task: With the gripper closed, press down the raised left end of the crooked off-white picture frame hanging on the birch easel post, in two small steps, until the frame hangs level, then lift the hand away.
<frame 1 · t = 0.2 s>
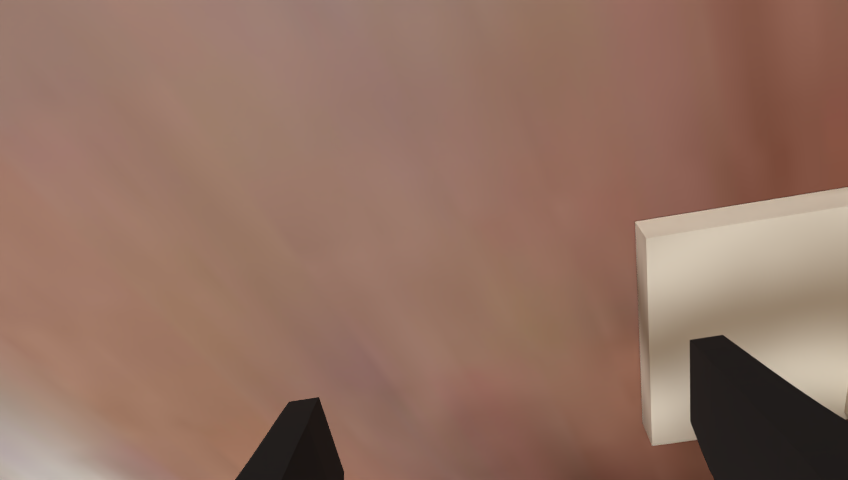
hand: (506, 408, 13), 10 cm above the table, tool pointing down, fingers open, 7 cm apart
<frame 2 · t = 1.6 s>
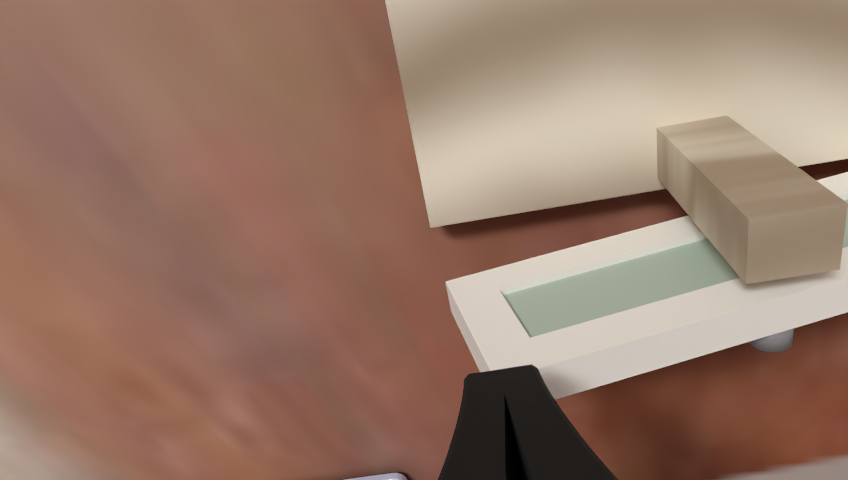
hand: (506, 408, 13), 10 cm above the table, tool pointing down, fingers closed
easel stand: (677, 172, 21), on the table
frame: (726, 278, 17), point 5 cm above the table, hinge at 12.0°
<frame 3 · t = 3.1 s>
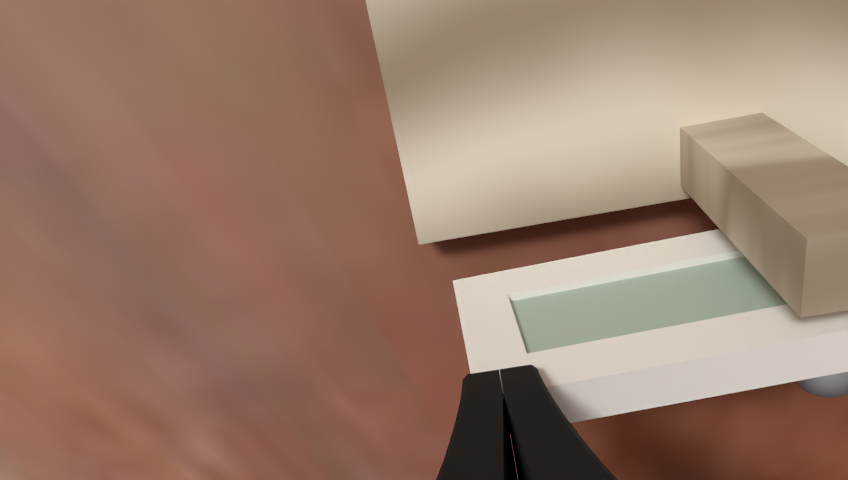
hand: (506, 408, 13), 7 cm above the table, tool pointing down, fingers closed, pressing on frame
easel stand: (702, 179, 19), on the table
frame: (779, 302, 15), point 5 cm above the table, hinge at 2.9°, touching gripper
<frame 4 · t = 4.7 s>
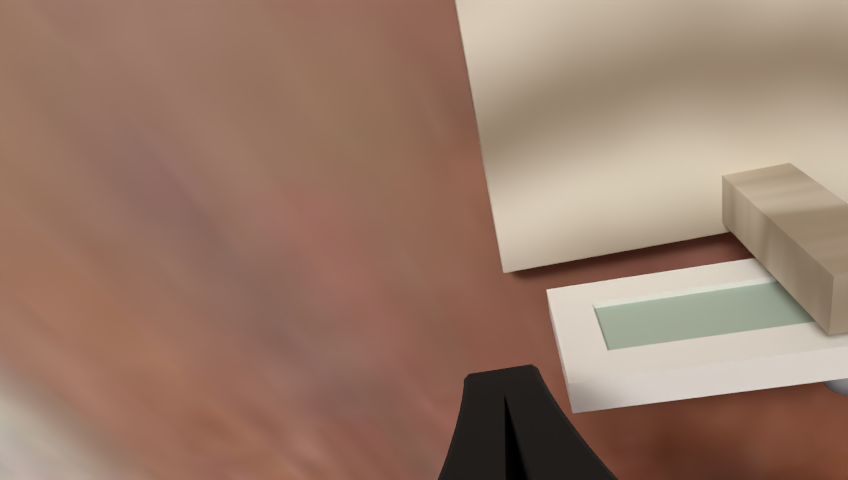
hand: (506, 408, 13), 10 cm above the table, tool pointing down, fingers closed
easel stand: (738, 214, 22), on the table
frame: (814, 318, 18), point 5 cm above the table, hinge at -2.8°
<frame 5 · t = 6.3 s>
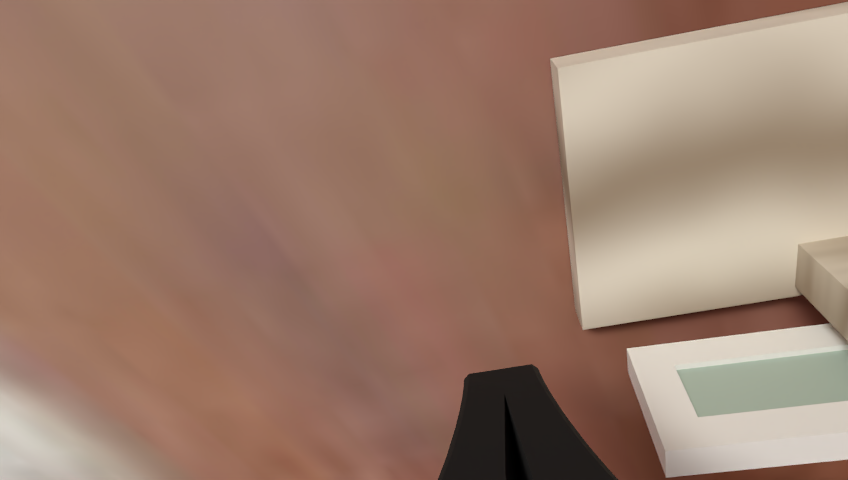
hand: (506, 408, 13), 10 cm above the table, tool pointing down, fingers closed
easel stand: (806, 275, 23), on the table
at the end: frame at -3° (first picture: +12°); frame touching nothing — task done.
